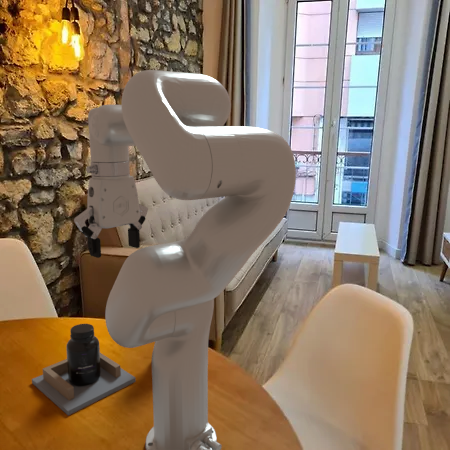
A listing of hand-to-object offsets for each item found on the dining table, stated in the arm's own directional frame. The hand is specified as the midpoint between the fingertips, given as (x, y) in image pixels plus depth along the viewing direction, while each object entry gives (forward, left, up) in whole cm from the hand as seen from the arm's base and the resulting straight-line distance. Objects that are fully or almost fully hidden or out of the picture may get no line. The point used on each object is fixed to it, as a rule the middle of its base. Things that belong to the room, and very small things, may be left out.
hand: (115, 251), depth 93 cm
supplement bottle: (+4, +7, -29) cm, 30 cm away
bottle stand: (+4, +7, -29) cm, 31 cm away
